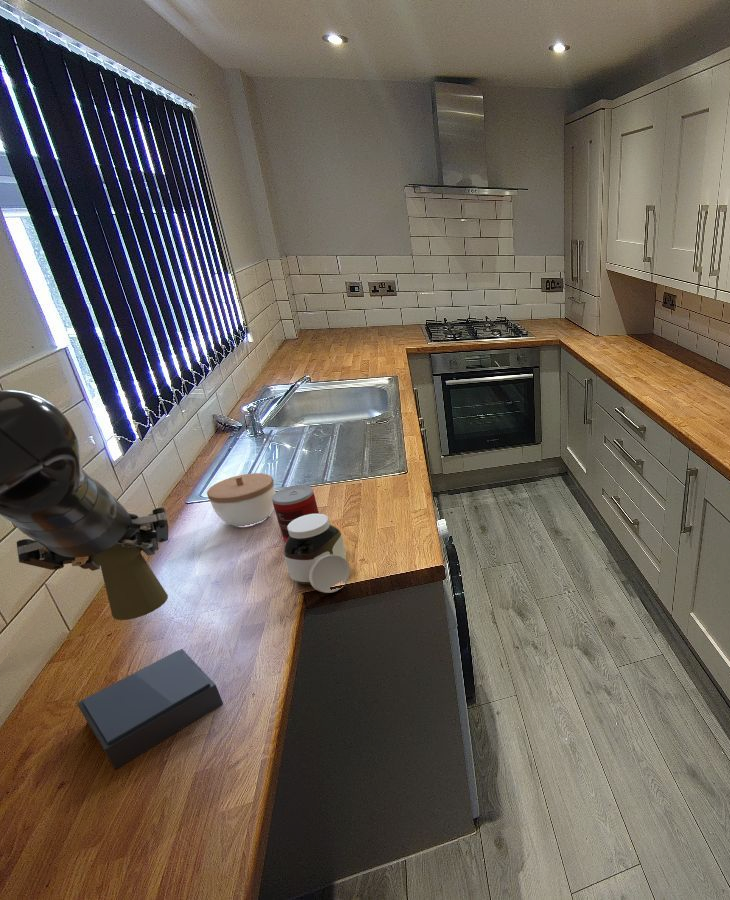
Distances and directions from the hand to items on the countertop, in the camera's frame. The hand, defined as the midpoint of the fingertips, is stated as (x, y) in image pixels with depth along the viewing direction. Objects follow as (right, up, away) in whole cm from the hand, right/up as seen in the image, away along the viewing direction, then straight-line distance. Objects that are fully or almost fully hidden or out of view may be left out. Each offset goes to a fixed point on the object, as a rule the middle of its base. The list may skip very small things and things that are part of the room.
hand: (123, 555), depth 71 cm
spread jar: (+12, -10, +30) cm, 34 cm away
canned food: (0, -5, +43) cm, 43 cm away
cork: (+1, -7, +1) cm, 8 cm away
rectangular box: (+3, -22, +2) cm, 22 cm away
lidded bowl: (-16, -2, +50) cm, 53 cm away
